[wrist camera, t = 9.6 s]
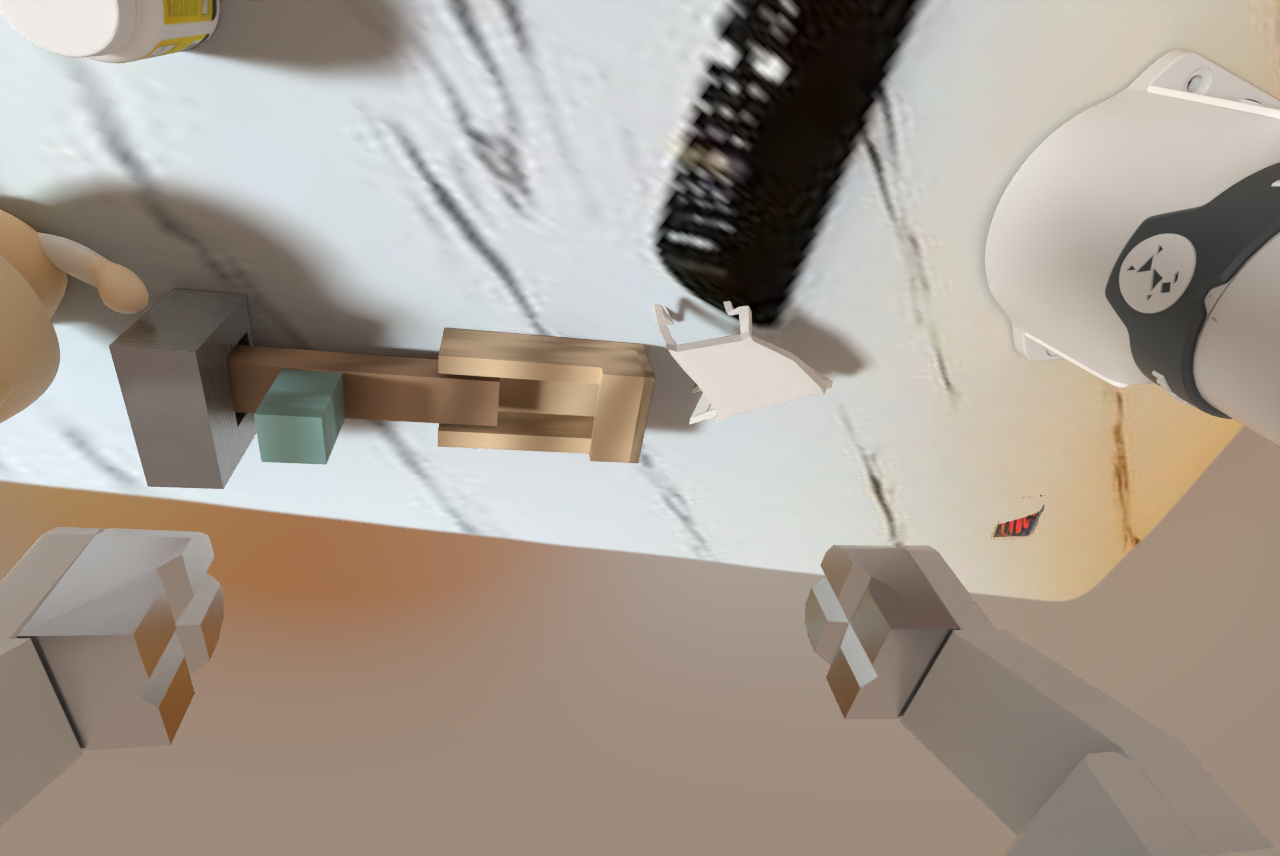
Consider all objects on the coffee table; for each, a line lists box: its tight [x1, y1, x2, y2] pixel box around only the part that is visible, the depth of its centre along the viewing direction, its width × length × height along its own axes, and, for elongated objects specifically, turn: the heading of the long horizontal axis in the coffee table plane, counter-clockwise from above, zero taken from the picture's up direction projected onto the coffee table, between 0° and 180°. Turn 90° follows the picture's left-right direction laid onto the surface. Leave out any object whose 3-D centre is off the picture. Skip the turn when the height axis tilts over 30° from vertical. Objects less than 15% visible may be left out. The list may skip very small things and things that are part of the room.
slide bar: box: [225, 345, 500, 464], centre depth 37 cm, size 16×3×7 cm, turn 81°
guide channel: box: [438, 328, 655, 463], centre depth 41 cm, size 12×6×4 cm, turn 81°
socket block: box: [109, 288, 257, 489], centre depth 36 cm, size 4×8×7 cm, turn 171°
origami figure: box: [653, 302, 833, 425], centre depth 42 cm, size 12×8×5 cm
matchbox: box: [991, 495, 1045, 540], centre depth 56 cm, size 5×5×1 cm
